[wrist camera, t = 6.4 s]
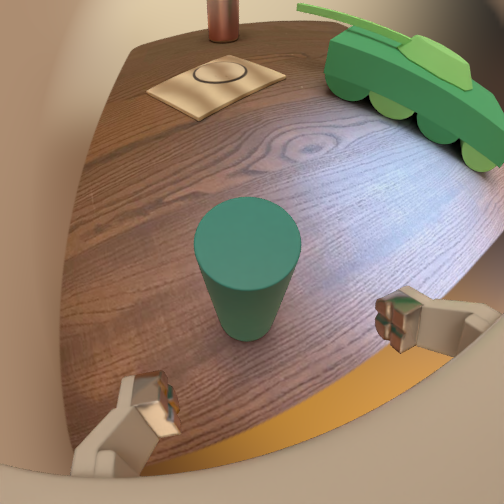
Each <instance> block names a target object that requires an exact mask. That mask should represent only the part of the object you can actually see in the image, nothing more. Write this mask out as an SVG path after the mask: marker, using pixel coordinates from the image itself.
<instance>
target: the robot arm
mask: <svg viewBox="0 0 504 504" xmlns="http://www.w3.org/2000/svg"><path fill="white" fill-rule="evenodd" d="M375 309H376V310H377V311H378V314H377V316H376V318H375V327H376V330H377V332H378V334H379V335H380V336H381V337H382V338H383V339H384V340H389V341H390V345H391V346H392V347H393V348H394V349H395V350H396V351H398V352H399V353H400V354H401V353H403V352H405V351H407V350H409V349H410V348H412V347H414V346H416V345H417V346H418V347H422V348H425V349H428V350H431V351H434V352H438V353H441V354H445V355H448V356H451V357H454V358H452V359H451V360H450V361H449V362H447V363H446V364H445V365H443V366H442V367H441V368H439V369H438V370H436V371H435V372H434V373H432V374H431V375H429V376H428V377H426V378H425V379H423V380H422V381H421V382H419V383H417V384H416V385H414V386H413V387H411V388H410V389H408V390H407V391H405V392H404V393H402V394H400V395H398V396H397V397H395V398H393V399H392V400H390V401H388V402H387V403H385V404H383V405H381V406H379V407H378V408H376V409H374V410H372V411H370V412H368V413H366V414H364V415H363V416H360V417H359V418H356V419H354V420H353V421H350V422H348V423H346V424H344V425H342V426H340V427H337V428H335V429H333V430H331V431H328V432H326V433H324V434H321V435H319V436H317V437H314V438H311V439H309V440H306V441H304V442H301V443H299V444H296V445H293V446H290V447H287V448H284V449H281V450H278V451H275V452H272V453H268V454H265V455H262V456H258V457H255V458H251V459H247V460H243V461H240V462H235V463H231V464H227V465H222V466H218V467H213V468H208V469H202V470H196V471H190V472H183V473H176V474H168V475H159V476H146V477H141V476H140V473H141V471H142V469H143V468H144V466H145V464H146V462H147V461H148V459H149V457H150V455H151V453H152V452H153V450H154V448H155V446H156V445H157V443H158V441H159V438H163V437H168V436H174V435H179V434H181V420H180V418H179V417H178V415H177V414H178V412H179V411H180V406H179V401H178V397H177V395H176V392H175V390H174V388H173V387H172V386H171V385H169V384H168V377H167V375H166V374H165V372H164V371H163V370H158V371H153V372H147V373H142V374H136V375H131V376H125V377H123V378H122V381H121V386H120V391H119V396H118V402H117V407H116V409H112V410H111V411H110V412H109V413H108V415H107V416H106V417H105V418H104V419H103V420H102V421H101V422H100V423H99V424H98V425H97V426H96V427H95V428H94V430H93V431H92V432H91V433H90V434H89V435H88V436H87V437H86V438H85V439H84V440H83V441H82V442H81V444H80V445H79V446H78V447H77V448H76V449H75V452H74V457H73V462H72V467H71V472H70V476H66V475H58V474H49V473H43V472H37V471H31V470H26V469H21V468H17V467H12V466H8V465H4V464H0V504H504V313H503V314H501V313H500V312H498V311H496V310H494V309H493V308H491V307H489V306H487V305H485V304H484V303H474V302H463V301H453V300H443V299H434V300H432V299H431V298H429V297H427V296H426V295H424V294H422V293H420V292H419V291H417V290H415V289H413V288H412V287H410V286H404V287H402V288H400V289H398V290H396V291H395V292H392V293H390V294H388V295H386V296H384V297H382V298H379V299H377V301H376V304H375Z"/></svg>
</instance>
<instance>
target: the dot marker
mask: <svg viewBox="0 0 504 504" xmlns="http://www.w3.org/2000/svg"><path fill="white" fill-rule="evenodd" d="M194 251H195V256H196V259H197V262H198V265H199V267H200V270H201V273H202V276H203V278H204V281H205V284H206V287H207V289H208V292H209V295H210V297H211V300H212V302H213V305H214V308H215V310H216V313H217V315H218V318H219V321H220V323H221V326H222V327H223V329H224V331H225V332H226V333H227V334H228V335H229V336H231V337H232V338H234V339H236V340H240V341H253V340H257V339H259V338H261V337H262V336H264V335H265V334H266V333H267V332H268V331H269V329H270V328H271V326H272V324H273V321H274V319H275V316H276V314H277V312H278V309H279V307H280V304H281V302H282V300H283V297H284V295H285V292H286V290H287V287H288V285H289V282H290V280H291V277H292V275H293V272H294V270H295V267H296V264H297V262H298V259H299V256H300V252H301V237H300V233H299V230H298V227H297V225H296V223H295V222H294V220H293V219H292V217H291V216H290V215H289V214H288V213H287V212H286V211H285V210H284V209H283V208H281V207H280V206H278V205H277V204H275V203H273V202H270V201H268V200H265V199H261V198H255V197H239V198H233V199H230V200H227V201H224V202H222V203H220V204H218V205H216V206H215V207H214V208H212V209H211V210H210V211H209V212H208V213H207V214H206V215H205V216H204V217H203V218H202V220H201V221H200V223H199V225H198V227H197V229H196V233H195V237H194Z"/></svg>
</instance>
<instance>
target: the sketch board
mask: <svg viewBox="0 0 504 504" xmlns="http://www.w3.org/2000/svg"><path fill="white" fill-rule="evenodd" d="M284 79H286V75H284V74H281V73H279V72H276V71H274V70H271V69H269V68H266V67H263V66H260V65H258V64H255V63H252V62H249V61H246V60H243V59H240V58H237V57H234V56H231V55H227V56H225V57H222V58H219V59H216V60H214V61H211V62H209V63H206V64H203V65H201V66H199V67H196V68H194V69H191V70H189V71H187V72H184V73H182V74H180V75H178V76H176V77H173V78H171V79H169V80H167V81H165V82H163V83H161V84H159V85H157V86H155V87H153V88H151V89H149V90H147V91H146V92H147V94H148V95H150V96H152V97H154V98H156V99H158V100H160V101H162V102H164V103H166V104H168V105H170V106H171V107H173V108H175V109H177V110H179V111H181V112H183V113H185V114H186V115H188V116H190V117H192V118H194V119H195V120H197V121H201V120H202V119H204V118H206V117H208V116H209V115H211V114H213V113H215V112H217V111H219V110H221V109H222V108H224V107H226V106H228V105H230V104H232V103H234V102H236V101H238V100H240V99H242V98H244V97H246V96H248V95H250V94H252V93H254V92H257V91H259V90H261V89H263V88H265V87H267V86H270V85H272V84H274V83H277V82H279V81H281V80H284Z"/></svg>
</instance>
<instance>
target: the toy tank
mask: <svg viewBox="0 0 504 504" xmlns="http://www.w3.org/2000/svg"><path fill="white" fill-rule="evenodd" d="M297 11H300V12H305V13H310V14H314V15H318V16H323V17H326V18H330V19H334V20H338V21H341V22H344V23H348V24H351V25H353V26H352V27H350V28H349V29H347V30H345V31H344V32H342V33H341V34H339V35H337V36H336V37H334V38H333V39H331V40H330V43H329V48H328V54H327V59H326V64H325V69H324V73H325V79H326V82H327V85H328V87H329V88H330V90H331V91H332V92H333V93H334V94H335V95H336V96H338V97H340V98H342V99H344V100H348V101H358V100H361V99H364V98H365V97H366V96H367V95H368V94H369V98H370V101H371V103H372V105H373V106H374V108H375V109H376V110H377V111H378V112H379V113H381V114H382V115H384V116H386V117H388V118H391V119H399V120H401V119H405V118H408V117H409V116H411V115H413V113H414V112H416V113H417V124H418V126H419V129H420V131H421V132H422V133H423V134H424V136H425V137H427V138H428V139H429V140H431V141H433V142H435V143H439V144H450V143H453V142H455V141H457V139H458V138H460V143H461V150H462V156H463V160H464V162H465V163H466V165H467V166H468V167H469V168H471V169H473V170H475V171H478V172H487V171H489V170H492V169H493V168H494V167H496V166H498V167H499V168H500V167H501V166H502V164H503V163H504V113H503V111H502V109H501V108H500V106H499V104H498V102H497V100H496V99H495V97H494V95H493V94H492V93H490V92H489V91H488V90H486V89H485V88H484V87H482V86H481V85H479V84H478V83H476V82H475V81H474V80H472V79H471V73H470V67H469V64H468V63H467V62H466V61H465V60H464V59H463V58H461V57H460V56H459V55H457V54H456V53H454V52H452V51H451V50H449V49H448V48H446V47H445V46H443V45H441V44H439V43H437V42H435V41H433V40H431V39H429V38H426V37H424V36H419V35H416V36H414V37H412V38H410V37H408V36H405V35H403V34H401V33H398V32H396V31H394V30H391V29H389V28H386V27H383V26H381V25H378V24H376V23H373V22H370V21H367V20H364V19H361V18H358V17H355V16H351V15H348V14H345V13H341V12H338V11H333V10H330V9H326V8H322V7H317V6H313V5H308V4H303V3H298V4H297Z"/></svg>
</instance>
